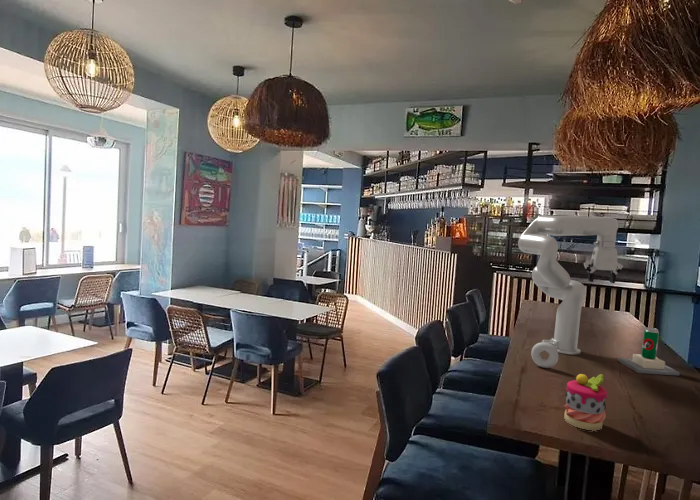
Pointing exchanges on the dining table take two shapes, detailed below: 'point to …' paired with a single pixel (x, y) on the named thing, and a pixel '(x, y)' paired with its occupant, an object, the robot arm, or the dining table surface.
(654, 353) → the soda can
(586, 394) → the cake
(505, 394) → the dining table surface
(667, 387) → the dining table surface
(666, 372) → the build base
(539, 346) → the donut
